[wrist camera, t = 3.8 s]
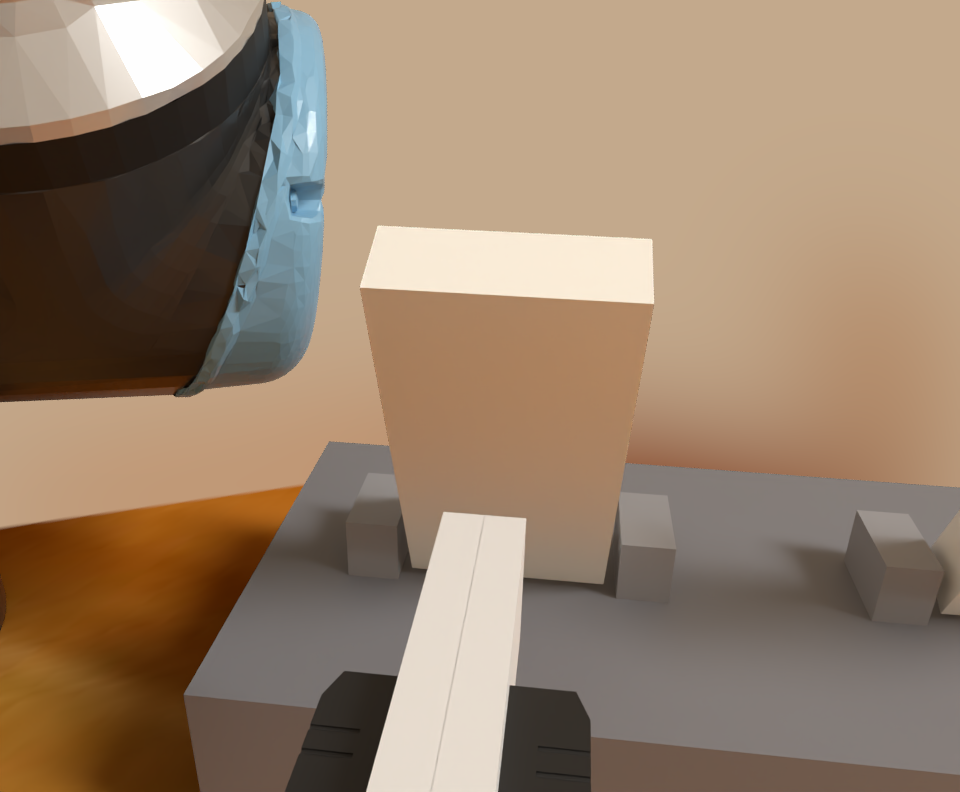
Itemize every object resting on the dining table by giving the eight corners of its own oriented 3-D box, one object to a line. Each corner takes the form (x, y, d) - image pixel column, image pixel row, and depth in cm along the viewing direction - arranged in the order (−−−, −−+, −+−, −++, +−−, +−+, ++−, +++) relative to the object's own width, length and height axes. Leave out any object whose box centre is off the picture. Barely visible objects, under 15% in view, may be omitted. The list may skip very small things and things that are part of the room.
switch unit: (1409, 993, 22) (1592, 772, 18) (210, 848, 25) (173, 635, 21) (1106, 627, 34) (1180, 456, 31) (336, 561, 37) (326, 397, 34)
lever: (603, 584, 26) (654, 304, 17) (411, 567, 27) (359, 287, 17) (604, 528, 27) (652, 239, 18) (422, 513, 28) (377, 225, 19)
